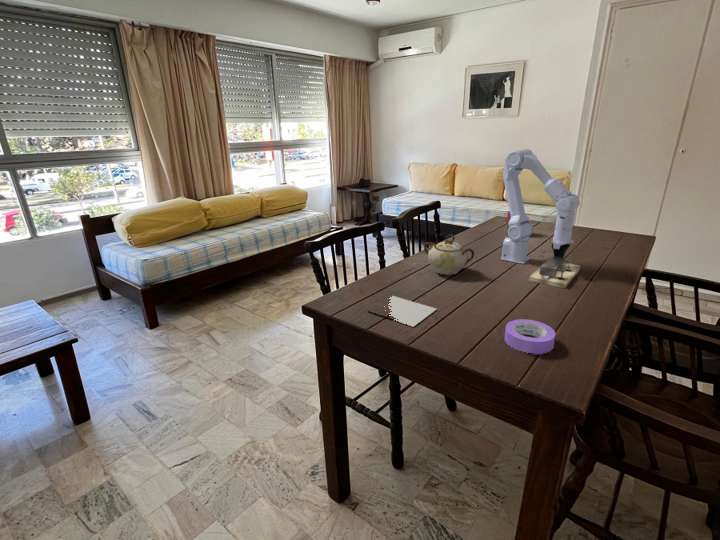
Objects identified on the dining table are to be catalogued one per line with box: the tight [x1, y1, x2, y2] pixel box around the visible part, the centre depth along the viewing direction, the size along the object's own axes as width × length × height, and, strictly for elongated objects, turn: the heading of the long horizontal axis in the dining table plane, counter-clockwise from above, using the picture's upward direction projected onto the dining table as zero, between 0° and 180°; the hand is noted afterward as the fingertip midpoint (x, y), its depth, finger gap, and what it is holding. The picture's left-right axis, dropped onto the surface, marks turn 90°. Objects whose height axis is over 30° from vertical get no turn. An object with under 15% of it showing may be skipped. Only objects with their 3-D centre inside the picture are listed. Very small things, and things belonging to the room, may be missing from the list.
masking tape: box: [504, 318, 556, 355], centre depth 97 cm, size 12×12×4 cm
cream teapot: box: [423, 233, 475, 276], centre depth 144 cm, size 20×15×15 cm
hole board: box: [528, 259, 582, 289], centre depth 140 cm, size 12×23×5 cm, turn 140°
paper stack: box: [384, 295, 437, 328], centre depth 117 cm, size 23×25×1 cm
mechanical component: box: [504, 210, 511, 234], centre depth 193 cm, size 12×10×10 cm
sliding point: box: [547, 255, 573, 268], centre depth 142 cm, size 8×3×3 cm, turn 50°
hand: (557, 262), depth 145 cm, fingers closed
